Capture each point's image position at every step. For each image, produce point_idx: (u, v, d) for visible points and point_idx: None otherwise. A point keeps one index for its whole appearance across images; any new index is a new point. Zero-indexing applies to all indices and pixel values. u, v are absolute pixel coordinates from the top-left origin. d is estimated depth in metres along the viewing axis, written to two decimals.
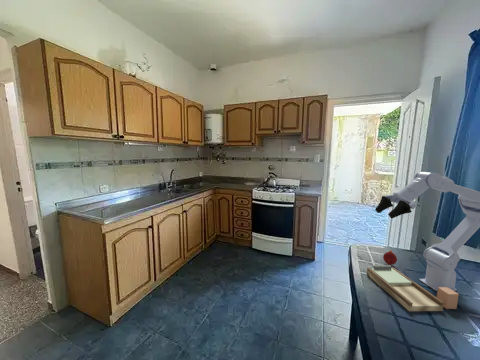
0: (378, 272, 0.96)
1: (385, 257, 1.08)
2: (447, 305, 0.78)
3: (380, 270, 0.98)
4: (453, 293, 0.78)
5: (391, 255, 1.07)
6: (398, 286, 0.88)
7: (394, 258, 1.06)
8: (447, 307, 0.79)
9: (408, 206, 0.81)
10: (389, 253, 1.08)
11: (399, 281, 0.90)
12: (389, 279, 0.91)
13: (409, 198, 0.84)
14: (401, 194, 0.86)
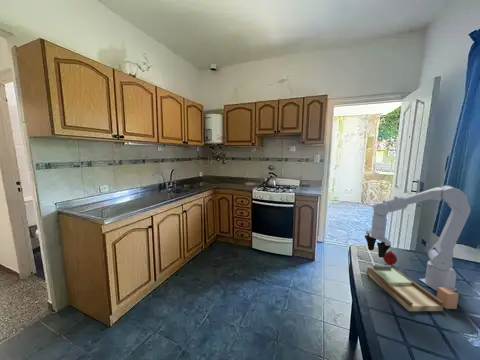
0: (378, 272, 0.96)
1: (385, 257, 1.08)
2: (447, 305, 0.78)
3: (380, 270, 0.98)
4: (453, 293, 0.78)
5: (391, 255, 1.07)
6: (398, 286, 0.88)
7: (394, 258, 1.06)
8: (447, 307, 0.79)
9: (385, 245, 0.97)
10: (389, 253, 1.08)
11: (399, 281, 0.90)
12: (389, 279, 0.91)
13: (381, 234, 1.00)
14: (374, 234, 1.01)
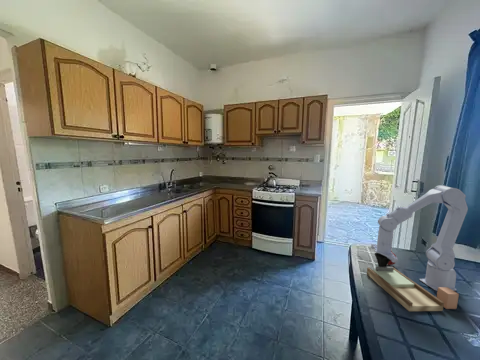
0: (380, 274, 0.95)
1: None
2: (447, 305, 0.78)
3: (382, 272, 0.97)
4: (453, 293, 0.78)
5: None
6: None
7: None
8: (447, 307, 0.79)
9: (386, 258, 0.96)
10: None
11: (401, 283, 0.88)
12: (391, 281, 0.90)
13: (388, 250, 0.96)
14: (380, 250, 0.97)
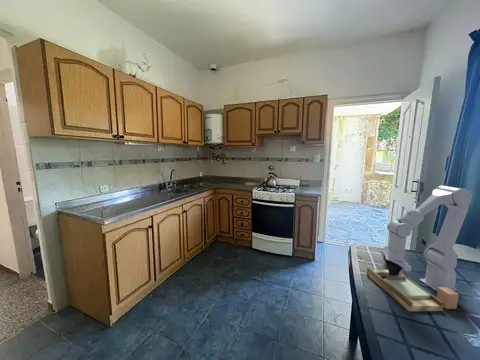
0: (392, 283, 0.88)
1: None
2: (447, 305, 0.78)
3: (393, 281, 0.90)
4: (453, 293, 0.78)
5: None
6: None
7: None
8: (447, 307, 0.79)
9: (398, 266, 0.89)
10: None
11: (416, 294, 0.81)
12: (405, 291, 0.83)
13: (400, 257, 0.89)
14: (391, 257, 0.90)
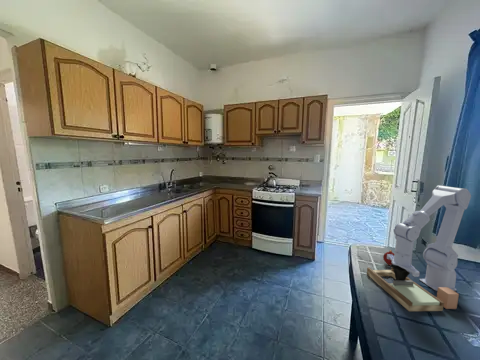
0: (399, 289, 0.84)
1: (385, 257, 1.08)
2: (447, 305, 0.78)
3: (400, 286, 0.86)
4: (453, 293, 0.78)
5: None
6: None
7: None
8: (447, 307, 0.79)
9: (405, 271, 0.86)
10: (389, 253, 1.08)
11: (425, 301, 0.78)
12: (413, 298, 0.79)
13: (407, 262, 0.85)
14: (398, 262, 0.87)
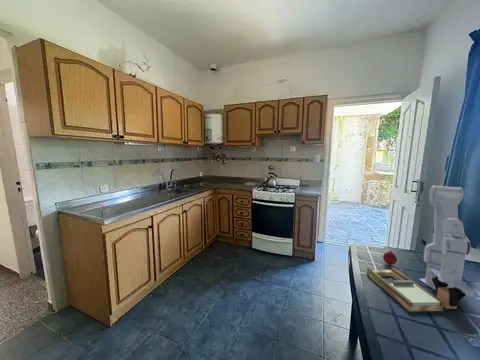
0: (399, 289, 0.84)
1: (385, 257, 1.08)
2: (447, 305, 0.78)
3: (400, 286, 0.86)
4: None
5: (391, 255, 1.07)
6: None
7: (394, 258, 1.06)
8: (447, 307, 0.79)
9: (461, 292, 0.75)
10: (389, 253, 1.08)
11: (425, 301, 0.78)
12: (413, 298, 0.79)
13: (458, 279, 0.76)
14: (447, 278, 0.78)
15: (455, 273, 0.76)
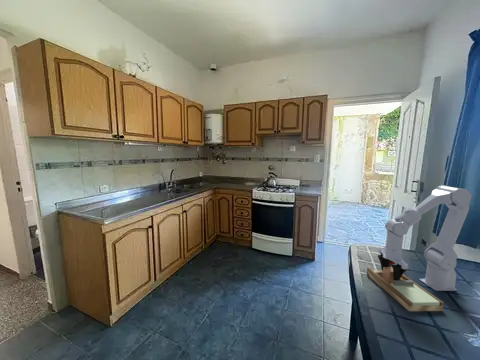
0: (399, 289, 0.84)
1: None
2: (388, 281, 0.93)
3: (400, 286, 0.86)
4: None
5: None
6: None
7: None
8: (389, 283, 0.93)
9: (401, 268, 0.88)
10: None
11: (425, 301, 0.78)
12: (413, 298, 0.79)
13: (397, 256, 0.90)
14: (389, 255, 0.92)
15: (395, 250, 0.90)
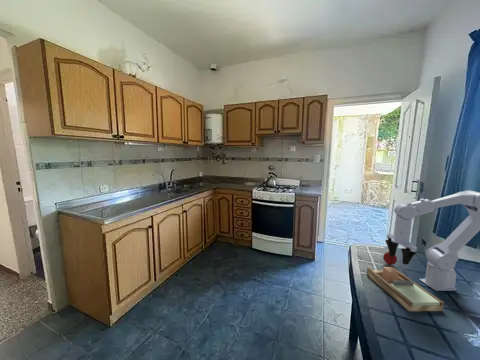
0: (399, 289, 0.84)
1: (385, 257, 1.08)
2: (388, 281, 0.93)
3: (400, 286, 0.86)
4: (394, 271, 0.92)
5: None
6: None
7: (394, 258, 1.06)
8: (389, 283, 0.93)
9: (411, 251, 0.89)
10: None
11: (425, 301, 0.78)
12: (413, 298, 0.79)
13: (406, 239, 0.92)
14: (397, 239, 0.93)
15: (403, 234, 0.92)
